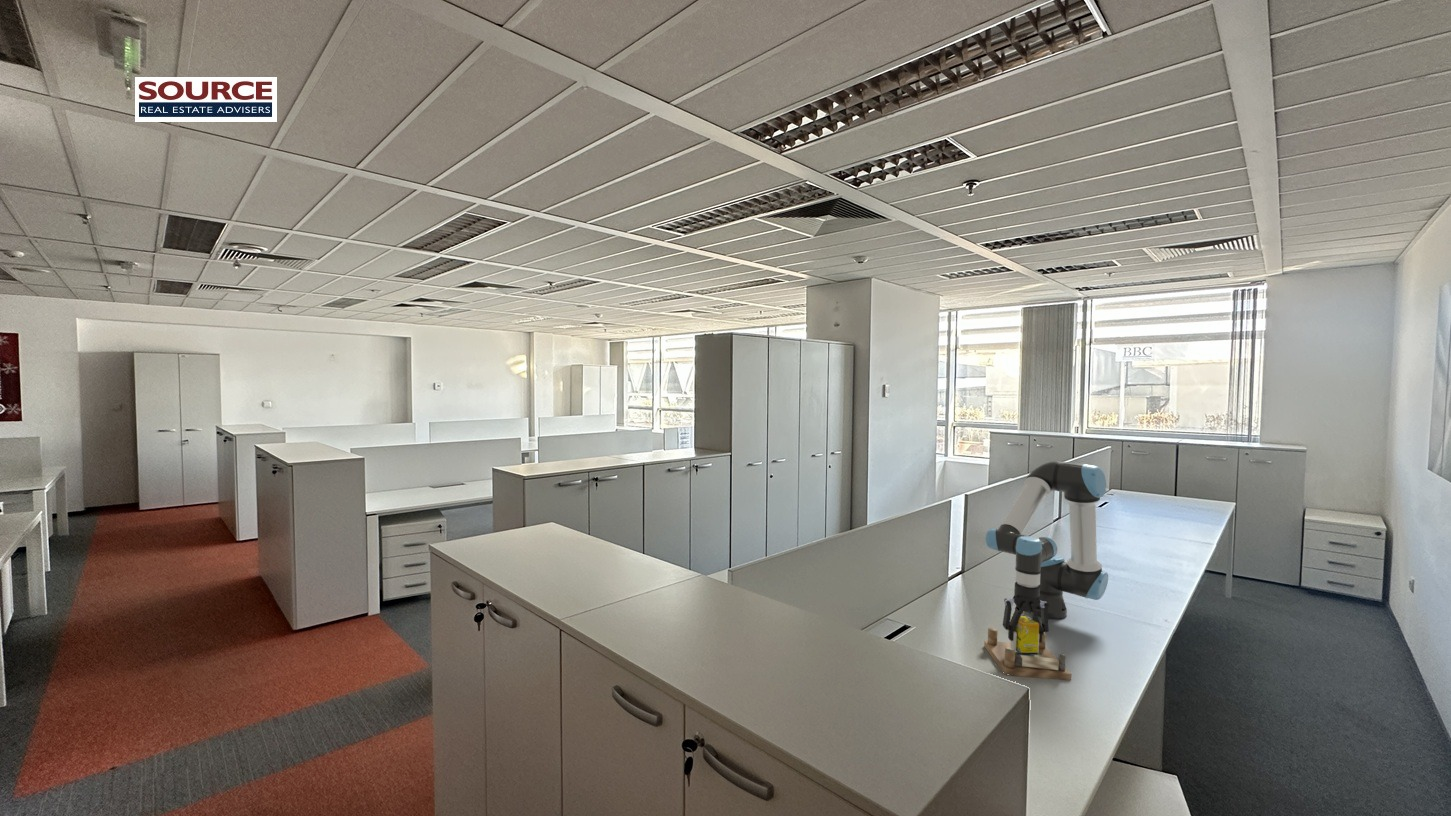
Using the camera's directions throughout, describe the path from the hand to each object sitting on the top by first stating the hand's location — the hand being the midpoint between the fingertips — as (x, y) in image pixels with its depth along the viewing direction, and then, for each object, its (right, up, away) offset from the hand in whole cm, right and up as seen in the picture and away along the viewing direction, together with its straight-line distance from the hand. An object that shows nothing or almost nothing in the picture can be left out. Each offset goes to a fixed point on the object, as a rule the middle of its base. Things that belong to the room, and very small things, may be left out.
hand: (1024, 650), depth 191 cm
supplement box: (0, 0, 0) cm, 0 cm away
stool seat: (0, -4, -1) cm, 4 cm away
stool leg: (-1, -2, -8) cm, 9 cm away
